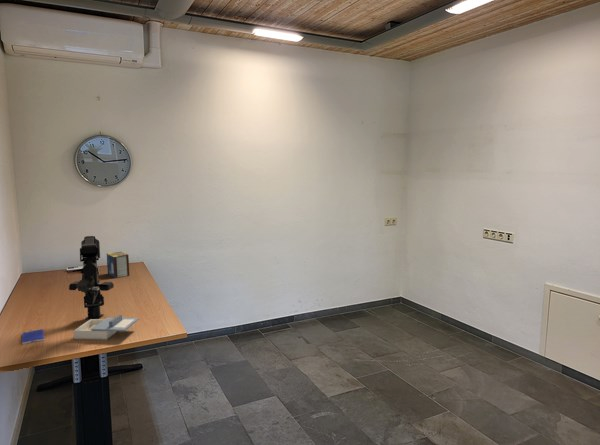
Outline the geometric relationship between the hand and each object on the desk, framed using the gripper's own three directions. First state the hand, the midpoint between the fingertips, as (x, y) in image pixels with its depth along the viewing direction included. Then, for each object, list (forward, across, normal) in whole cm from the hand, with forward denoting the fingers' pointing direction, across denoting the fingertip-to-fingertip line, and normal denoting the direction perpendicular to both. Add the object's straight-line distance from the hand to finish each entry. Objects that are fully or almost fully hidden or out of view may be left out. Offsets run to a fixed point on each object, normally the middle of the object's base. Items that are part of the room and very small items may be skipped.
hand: (92, 303), depth 192 cm
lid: (+8, +13, -5) cm, 16 cm away
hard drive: (+13, -22, -11) cm, 28 cm away
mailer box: (+12, +5, -5) cm, 14 cm away
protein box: (+13, -37, +100) cm, 107 cm away
